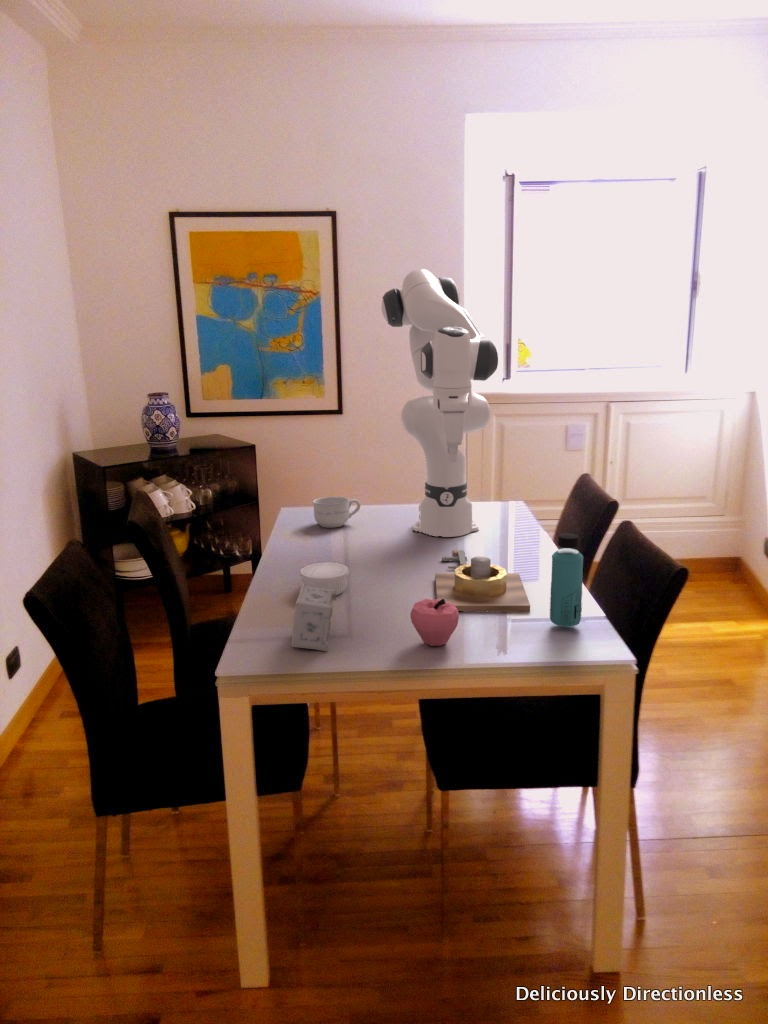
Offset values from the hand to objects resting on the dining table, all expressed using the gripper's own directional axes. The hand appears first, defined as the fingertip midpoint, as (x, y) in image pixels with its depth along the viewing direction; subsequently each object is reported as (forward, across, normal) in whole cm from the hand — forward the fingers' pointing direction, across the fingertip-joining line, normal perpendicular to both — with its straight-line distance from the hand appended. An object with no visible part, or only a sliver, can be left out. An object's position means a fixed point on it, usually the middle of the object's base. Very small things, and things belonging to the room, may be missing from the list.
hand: (451, 457), depth 192 cm
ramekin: (+29, +12, -30) cm, 44 cm away
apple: (+29, +41, -5) cm, 51 cm away
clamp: (+30, -5, +3) cm, 30 cm away
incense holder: (+29, +40, -29) cm, 57 cm away
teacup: (+29, -41, -32) cm, 60 cm away
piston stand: (+29, +15, +6) cm, 33 cm away
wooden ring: (+28, +15, +6) cm, 32 cm away
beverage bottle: (+29, +33, +22) cm, 49 cm away
